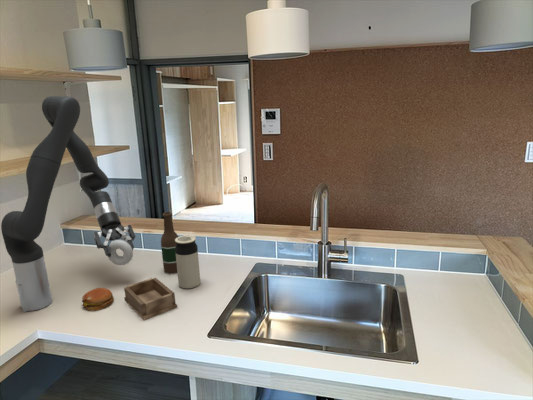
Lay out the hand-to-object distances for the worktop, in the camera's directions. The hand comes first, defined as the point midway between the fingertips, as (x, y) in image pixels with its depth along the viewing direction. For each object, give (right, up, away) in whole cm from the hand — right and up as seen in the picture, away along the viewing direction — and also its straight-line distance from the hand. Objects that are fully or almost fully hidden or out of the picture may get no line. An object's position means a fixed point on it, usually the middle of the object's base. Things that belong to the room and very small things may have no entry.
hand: (121, 253), depth 150 cm
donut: (-1, -5, +2) cm, 6 cm away
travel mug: (+25, -12, +1) cm, 28 cm away
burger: (-4, -16, -11) cm, 20 cm away
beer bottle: (+16, -9, +14) cm, 23 cm away
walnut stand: (+14, -16, -12) cm, 24 cm away
